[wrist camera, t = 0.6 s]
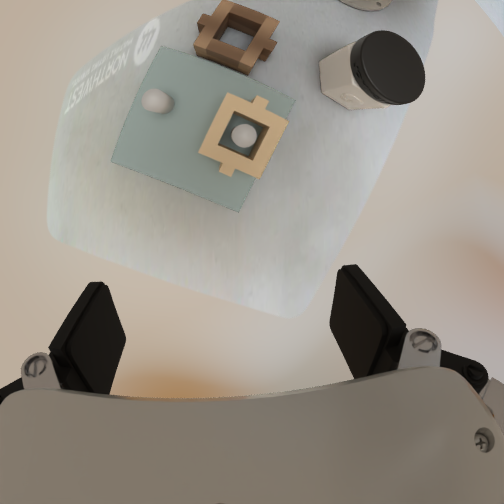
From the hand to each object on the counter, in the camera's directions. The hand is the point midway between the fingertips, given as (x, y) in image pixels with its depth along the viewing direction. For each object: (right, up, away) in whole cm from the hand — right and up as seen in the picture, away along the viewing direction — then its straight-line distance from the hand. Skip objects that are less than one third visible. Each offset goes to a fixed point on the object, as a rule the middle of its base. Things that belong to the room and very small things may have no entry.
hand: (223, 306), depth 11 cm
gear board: (-5, +18, +20) cm, 27 cm away
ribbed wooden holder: (-1, +28, +16) cm, 32 cm away
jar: (+14, +25, +19) cm, 35 cm away
